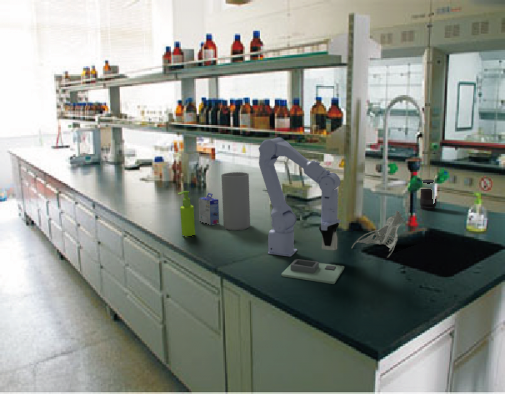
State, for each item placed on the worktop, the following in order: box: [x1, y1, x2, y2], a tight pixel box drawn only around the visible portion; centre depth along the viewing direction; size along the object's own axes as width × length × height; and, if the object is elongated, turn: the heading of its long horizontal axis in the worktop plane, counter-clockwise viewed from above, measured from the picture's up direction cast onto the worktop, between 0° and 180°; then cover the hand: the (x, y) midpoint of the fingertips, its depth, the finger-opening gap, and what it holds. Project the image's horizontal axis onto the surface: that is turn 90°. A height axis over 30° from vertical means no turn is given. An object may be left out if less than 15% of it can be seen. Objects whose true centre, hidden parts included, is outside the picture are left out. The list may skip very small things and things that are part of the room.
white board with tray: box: [280, 258, 345, 285], centre depth 147 cm, size 18×14×3 cm
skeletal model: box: [351, 210, 404, 259], centre depth 171 cm, size 16×9×25 cm
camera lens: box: [419, 179, 437, 211], centre depth 224 cm, size 8×8×15 cm
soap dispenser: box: [177, 190, 196, 237], centre depth 190 cm, size 6×7×20 cm
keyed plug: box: [321, 231, 338, 251], centre depth 156 cm, size 5×3×6 cm, turn 65°
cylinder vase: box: [220, 171, 251, 231], centre depth 200 cm, size 12×12×25 cm
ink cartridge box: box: [198, 192, 220, 226], centre depth 210 cm, size 10×6×14 cm, turn 41°
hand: (328, 244), depth 157 cm, fingers closed on keyed plug, 3 cm apart
